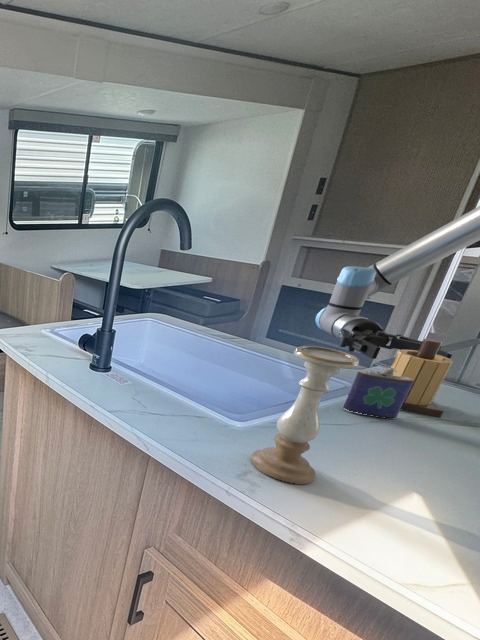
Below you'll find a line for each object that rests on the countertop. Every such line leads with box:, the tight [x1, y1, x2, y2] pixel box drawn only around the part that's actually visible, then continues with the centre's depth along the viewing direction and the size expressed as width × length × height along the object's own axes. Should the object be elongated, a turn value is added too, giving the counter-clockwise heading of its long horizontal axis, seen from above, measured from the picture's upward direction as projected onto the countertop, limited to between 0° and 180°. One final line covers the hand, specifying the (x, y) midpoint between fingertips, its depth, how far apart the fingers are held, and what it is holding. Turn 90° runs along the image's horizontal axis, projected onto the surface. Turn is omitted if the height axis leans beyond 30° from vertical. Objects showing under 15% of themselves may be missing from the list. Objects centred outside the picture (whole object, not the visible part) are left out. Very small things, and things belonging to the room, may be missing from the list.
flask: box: [342, 366, 414, 419], centre depth 89 cm, size 9×3×11 cm, turn 68°
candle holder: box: [250, 345, 360, 485], centre depth 66 cm, size 9×9×20 cm
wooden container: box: [390, 349, 454, 405], centre depth 95 cm, size 8×8×10 cm
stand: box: [400, 338, 444, 418], centre depth 94 cm, size 10×10×15 cm
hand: (411, 356), depth 97 cm, fingers open, 13 cm apart
